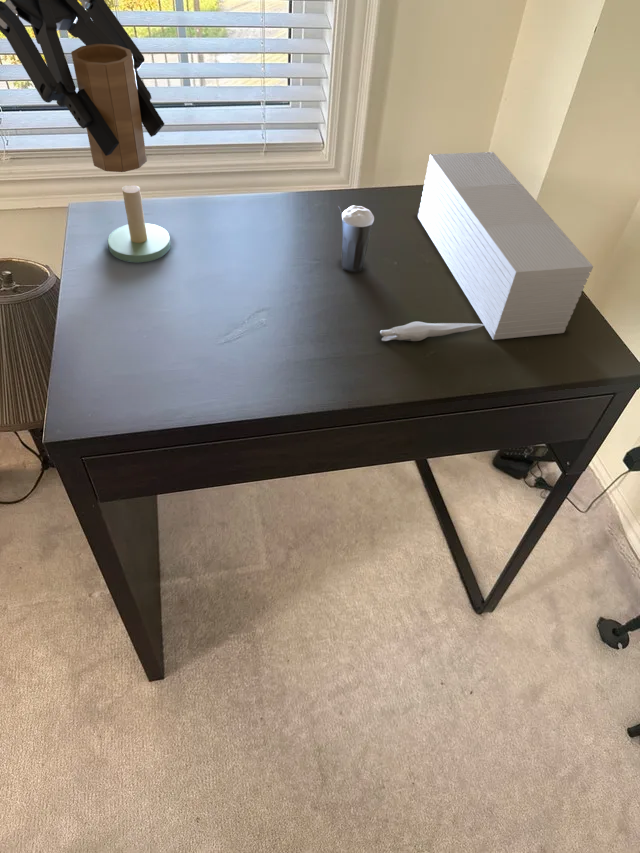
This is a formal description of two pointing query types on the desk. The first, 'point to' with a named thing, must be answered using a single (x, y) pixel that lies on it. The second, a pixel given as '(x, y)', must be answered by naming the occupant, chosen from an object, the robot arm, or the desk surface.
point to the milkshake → (355, 236)
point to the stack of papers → (501, 246)
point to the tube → (112, 103)
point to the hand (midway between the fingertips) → (135, 139)
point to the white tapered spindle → (425, 330)
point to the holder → (137, 233)
